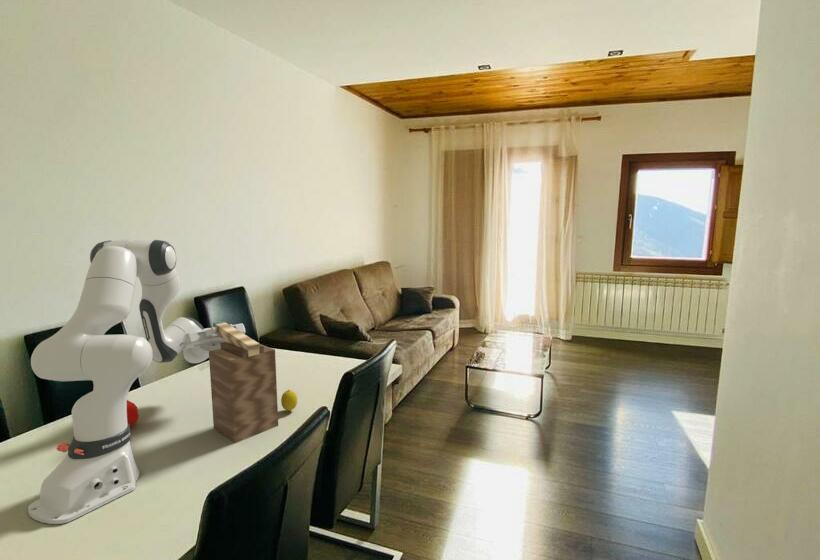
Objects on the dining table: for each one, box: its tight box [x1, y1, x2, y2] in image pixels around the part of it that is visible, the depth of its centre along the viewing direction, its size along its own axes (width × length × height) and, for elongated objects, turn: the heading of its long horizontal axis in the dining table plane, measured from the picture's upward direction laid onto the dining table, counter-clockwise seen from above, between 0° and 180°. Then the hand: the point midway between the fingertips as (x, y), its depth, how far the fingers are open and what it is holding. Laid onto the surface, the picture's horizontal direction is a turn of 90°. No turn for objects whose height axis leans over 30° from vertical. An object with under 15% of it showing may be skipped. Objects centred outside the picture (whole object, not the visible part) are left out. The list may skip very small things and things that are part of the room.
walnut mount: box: [208, 342, 279, 444], centre depth 138 cm, size 15×14×28 cm
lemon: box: [280, 389, 298, 412], centre depth 151 cm, size 6×6×8 cm
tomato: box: [127, 399, 140, 427], centre depth 137 cm, size 14×13×9 cm
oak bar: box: [212, 320, 260, 357], centre depth 139 cm, size 24×4×4 cm, turn 49°
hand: (223, 327), depth 144 cm, fingers closed on oak bar, 4 cm apart
